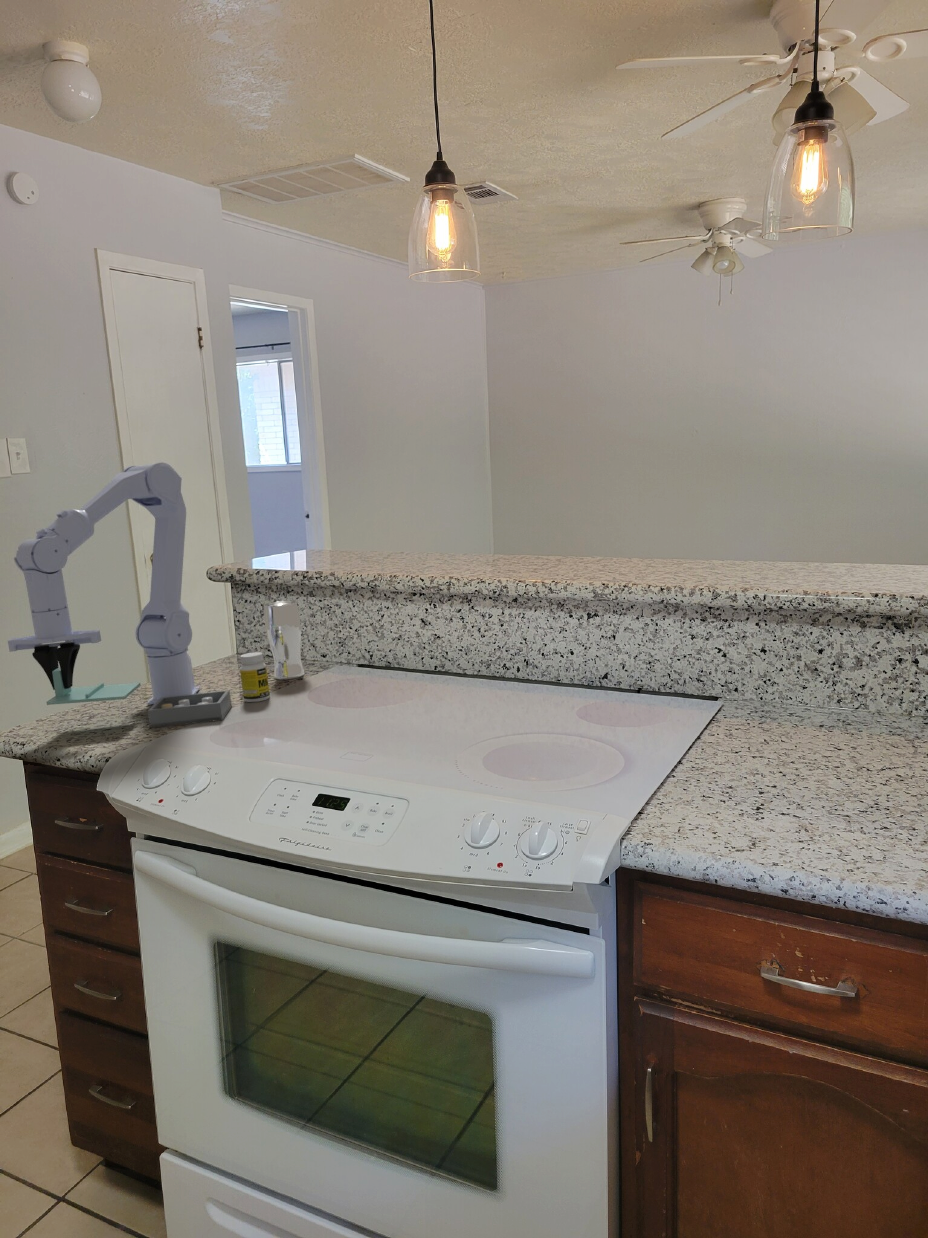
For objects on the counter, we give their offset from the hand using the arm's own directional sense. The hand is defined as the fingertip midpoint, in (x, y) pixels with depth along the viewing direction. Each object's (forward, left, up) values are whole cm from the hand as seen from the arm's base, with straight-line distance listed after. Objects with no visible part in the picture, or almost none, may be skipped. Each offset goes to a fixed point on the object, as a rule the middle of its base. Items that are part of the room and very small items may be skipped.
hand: (63, 688), depth 151 cm
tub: (0, +21, -8) cm, 22 cm away
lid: (0, +5, -2) cm, 5 cm away
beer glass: (-25, +35, -8) cm, 43 cm away
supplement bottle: (-8, +31, -8) cm, 33 cm away
